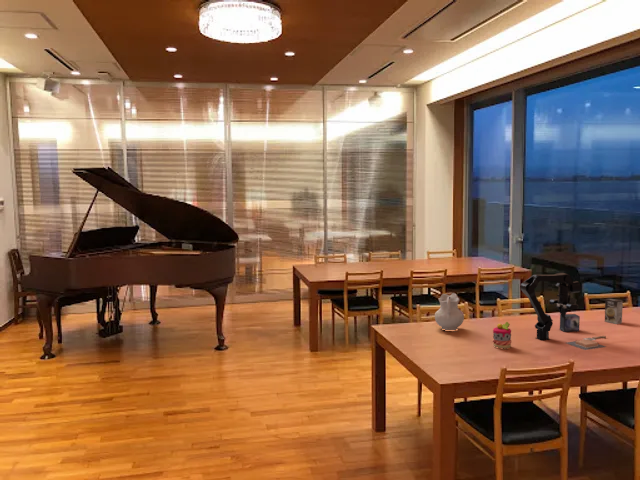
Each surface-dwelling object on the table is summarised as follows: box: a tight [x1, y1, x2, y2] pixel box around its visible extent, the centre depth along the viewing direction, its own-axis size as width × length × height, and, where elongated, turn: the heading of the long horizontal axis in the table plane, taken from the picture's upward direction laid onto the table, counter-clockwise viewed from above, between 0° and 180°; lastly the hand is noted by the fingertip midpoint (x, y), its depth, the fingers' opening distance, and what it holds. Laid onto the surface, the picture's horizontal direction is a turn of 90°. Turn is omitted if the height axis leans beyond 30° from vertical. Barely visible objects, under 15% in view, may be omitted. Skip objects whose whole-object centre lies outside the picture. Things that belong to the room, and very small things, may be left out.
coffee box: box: [604, 298, 624, 325], centre depth 368 cm, size 9×6×16 cm
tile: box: [575, 339, 599, 348], centre depth 317 cm, size 9×2×8 cm
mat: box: [565, 340, 607, 351], centre depth 318 cm, size 16×16×1 cm
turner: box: [583, 335, 607, 341], centre depth 330 cm, size 15×5×1 cm, turn 108°
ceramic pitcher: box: [434, 292, 465, 330], centre depth 360 cm, size 22×20×25 cm
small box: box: [559, 313, 581, 333], centre depth 351 cm, size 11×6×10 cm, turn 92°
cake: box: [492, 321, 512, 350], centre depth 320 cm, size 10×10×15 cm
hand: (563, 317), depth 334 cm, fingers closed
